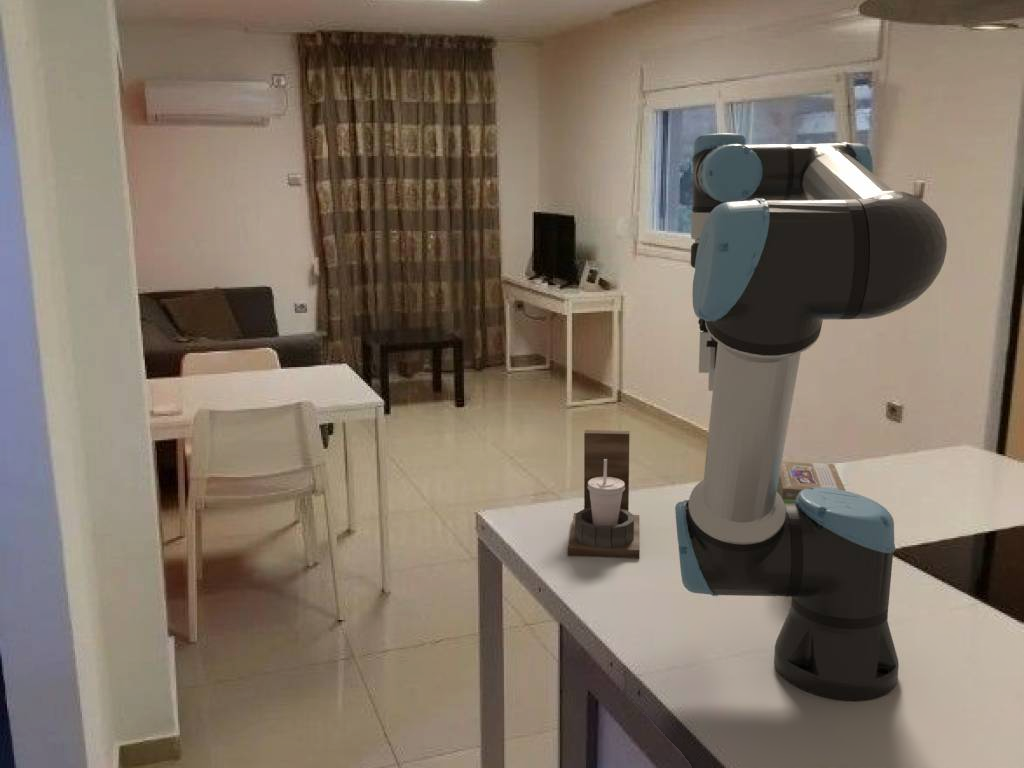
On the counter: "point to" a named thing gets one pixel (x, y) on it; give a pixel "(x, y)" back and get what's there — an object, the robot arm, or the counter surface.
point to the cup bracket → (583, 532)
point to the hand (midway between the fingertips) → (712, 381)
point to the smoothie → (605, 498)
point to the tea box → (806, 478)
